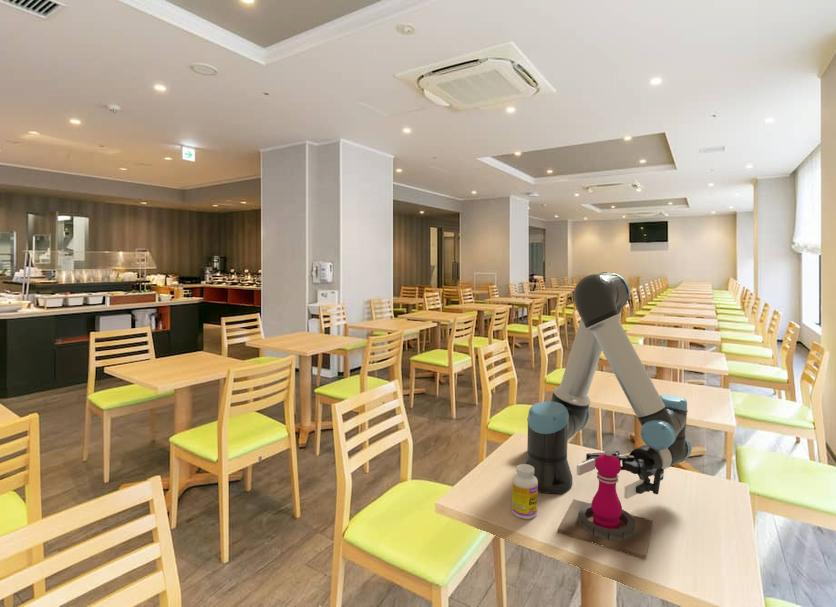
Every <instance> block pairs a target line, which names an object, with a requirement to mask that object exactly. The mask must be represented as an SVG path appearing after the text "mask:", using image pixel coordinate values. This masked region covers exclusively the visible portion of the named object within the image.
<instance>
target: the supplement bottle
mask: <svg viewBox="0 0 836 607" xmlns="http://www.w3.org/2000/svg"><path fill="white" fill-rule="evenodd" d="M515 472H516V474H514V475H513V477H512V484H511V485H512V487H511V491H512V492H511V512H512V513H513V515H514V516H516V517H517V518H519V519H522V518H523V520H531V519H534V518H536V516H537V514H538V480H537V478H536V477H535V476H534V467H533V466H531V465H528V464H524V463H520V464H518V465H517V466H516V471H515Z"/></svg>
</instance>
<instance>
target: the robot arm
mask: <svg viewBox="0 0 836 607" xmlns="http://www.w3.org/2000/svg"><path fill="white" fill-rule="evenodd" d="M630 296H631V289H630V286H629V283H628V282H627V280H626V279H625V278H624V277H623V276H622V275H620V274H617V273H614V272H608V271H603V272H599V273H593V274H589V275H586V276H584V277H582V278H581V279H580V280H578V282H577V284H576V285H575V287H574V290H573V302H574V306H575V308H576V311H577V313H578V315H579V318H580V321H579V324H578V328H577V330H576V334H575V336H574V340H573V343H572V346H571V350H570V352H569V353H570V354H569V355H568V359H567V363H566V366H565V369H564V372H563V376H562V377H561V378H562V379H561V382H560V385H559V386H556V387H555V388H554V389H553V391H552V394H551V398H550V400H548V401H542V402H541V401H540V402H536V403H534V404H532V406H531V407H530V408H529V409H528V412H527V413H528V414H527V415H528V416H527V418H526V419H527V449H526V450H527V451H526V452H527V455H526V457H525V460H524V463H523V464H528V465H531V466H533V467H534V476H535V477H536V478H537V480H538V492H539V493H543V494H562V493H566V492H568V491H569V490H571V489H572V487H573V475H572V474H573V473H572V471H571V467H570V464H569V462H568V441H569V440H570V439H571V438H572V437H573V436H574V435H576V434H577V433H578V432H579V431H582V429H584V427H586V425H587V423H588V421H589V417H590V409H589V407H590V404H591V399H590V398H589V396H588V394H589V390H590V387H591V385H592V382H593V379H594V376H595V373H596V370H597V368H598V365H599V364H598V363H599V361H600V357H601V355H602V353H603V355H604V357H605V359H606V361H607V363H608V364H609V367H610V368H611V371H612V372H613V374H614V376H615V378H616V380H617V382H618V384H619V385H620V387H621V390H622V391H623V393H624V395H625V397H626V398H627V401H628V403H629V405H630V406H631V409H632V410H633V412H634V414H635V416H636V418H637V420H638V422H639V424H640V426H641V428H640V436H641V440H642V442H643V443H644V444H643V445H642V446H639V447H636V448H633V449H632V450H631V451H630V453H629V454H626V455H625V454H624V455H621V454H620V453H621V452H620V451H619V450H613V451H612V455H614V456H615V457H617V458H618V459H619V461H620V463H621V470H620V471H626V472H630V473H632V474H633V475H637V476H638V478H639V479H638V480H636V481H633V482H632V483H630V484H628V485H625V486H624V494H623V495H624V496H623V498H624V499H626V500H628V499H630V498H632V497H634V496H636V495H638V494H639V495H640V494H641V495H642V494H644V493H646V492H647V493H650V492H652V494H653V495H659V492H660V486H661V481H662V480H664V475H665V474H664V472H665V470H666V469H668V468H671V467H673V466H675V465H677V464H680V463H683V462H684V461H685V460H686V459H688V458H690V456H691V453H692V448H693V447H692V445H691V443H690V440H689V438H687V437H686V431H687V428H686V427H687V418H688V416H687V415H688V412H689V411H688V401H687V399H685V397H682V396H679V395H675V394H667V393H666V394H661V395H660V394H659V392H658V391H657V389H656V386H655V384H654V383H653V380H652V379H651V378H650V375H649V374H648V372H647V370H646V368H645V365H644V364H643V363H642V361H641V358H640V357H639V355H638V354H637V351H636V349H635V348H634V346H633V343H632V342H631V340H630V338H629V337H628V336H629V335H628V334H627V333H626V331H625V329H624V327H623V325H622V323H621V322H620V316H621V311H622V308H624V306H626V304H627V302H628V301H629V299H630ZM601 454H605V451H604V452H590V453H586V455H585V459H584V460H582V462H580V463H578V464H576V475H577V476H581V475H583V474H584V475H585V474H586V473H589V472H591V471H593V470H596V466H595V461H596V459H597V457H598V456H599V455H601ZM649 477H653V481H652V482H651V478H649Z"/></svg>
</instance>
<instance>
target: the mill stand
mask: <svg viewBox="0 0 836 607" xmlns="http://www.w3.org/2000/svg"><path fill="white" fill-rule="evenodd" d="M591 505H592V502H590V503H589V502H586V501H583V500H577V499H575V498H574V499H572V500H571V503H570V505H569V507H568V509H567V510H566V512H565V514H564V516H563V518H562V520H561V522H560V524H559V525H558V527H557V533H559V534H561V535H562V534H563V535H565V536H568V535H569V536H570V537H571V538H576V539H578V540H582V541H585V542H589V543H591V542H593V543H592V544H594V543H596V544H595V545H597V544H599V545H598V546H601V545H603V546H602V547H604V546H605V548H607V547H608V549H610V548H611V550H614V549H615V550H614V551H617V550H618V551H617V552H620V551H622V552H621V553H623V552H624V554H627V553H628V554H627V555H629V556H630V555H631V556H633V555H634V557H637V558H640V559H644V560H646V557H647V553H648V548H649V544H650V538H651V534H652V531H653V530H652V529H653V526H654V525H653V523H654V520H652V519H649V518H645V517H641V516H638V515H633V514H631V513H629V512H628V511H626V510H624V509H623V508H622V514H621V516H620V517H619V520H620V522H619V528H618V529H607V528H604V527H600V526H597V525H595V524H594V523H593V515H594V512H593V511H592V508H591ZM569 536H568V537H569Z"/></svg>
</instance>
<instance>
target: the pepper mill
mask: <svg viewBox="0 0 836 607" xmlns="http://www.w3.org/2000/svg"><path fill="white" fill-rule="evenodd" d="M604 452H605V454H601V455H599V456H598V457H597V459H596V461H595V466H596V467H595V470H597V471H596V478H597V480H598V489H597V491H596V492H595V495H594V496H593V497H592V500H591V503H592V505H591V508H592V511H593V512H594V515H593V523H594V524H595V525H597V526H600V527H604V528H607V529H618V528H619V522H620V520H619V517H620V516H621V514H622V509H623V507H622V503H621V500H620V498H619V495H618V493H617V483H618V482H619V478H620V477H619V476H620V475H618V474H620V472H621V471H622V470H621V466H622V462H620V461H619V459H618V458H617V457H615V456H614V455H612V452H613V451H612V449H610V448H606V449H605V450H604Z"/></svg>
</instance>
